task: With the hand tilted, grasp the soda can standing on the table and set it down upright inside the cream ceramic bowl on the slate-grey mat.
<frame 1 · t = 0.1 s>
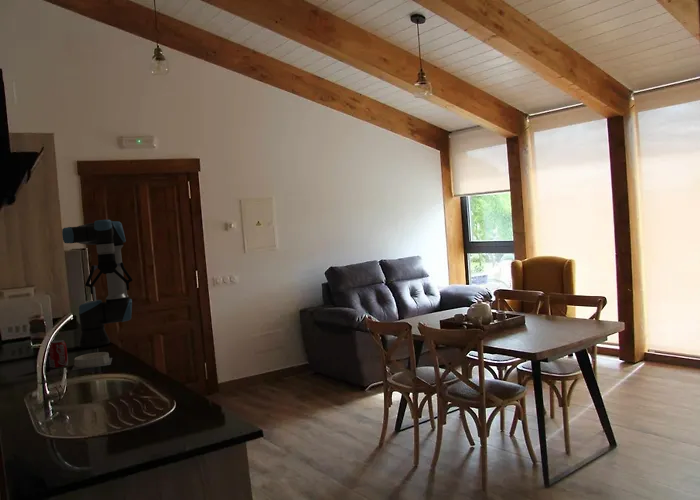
hand: (111, 299, 283), 28 cm above the counter, tool pointing down, fingers open, 13 cm apart
bowl: (92, 363, 277), resting on mat
mat: (92, 364, 277), on the counter
soda can: (60, 367, 277), on the counter
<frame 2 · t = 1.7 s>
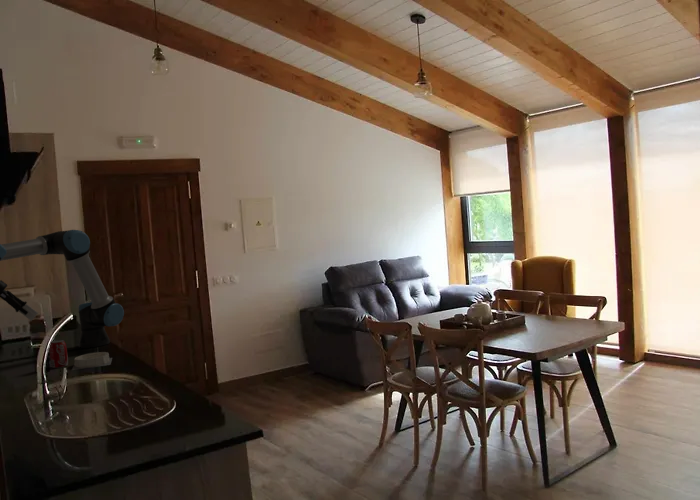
hand: (35, 316, 272), 24 cm above the counter, tool tilted 45°, fingers open, 13 cm apart
nothing on the counter moved.
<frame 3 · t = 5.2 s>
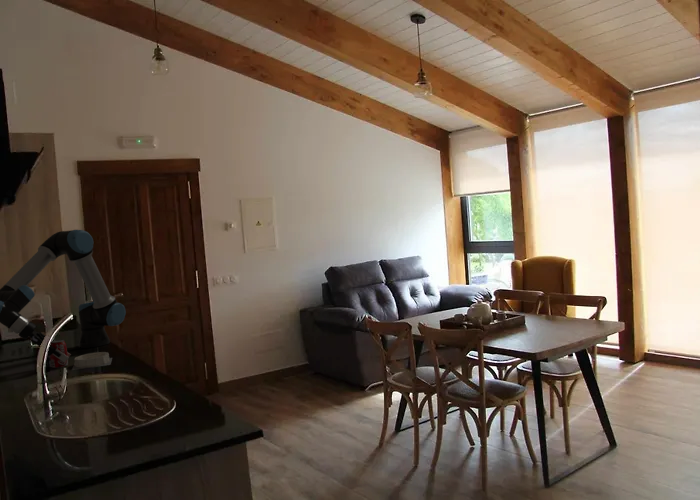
hand: (67, 358, 278), 4 cm above the counter, tool tilted 45°, fingers closed on soda can, 7 cm apart
soda can: (60, 367, 277), on the counter, touching gripper
when the fingers open (6 cm above the counter, at t = 10.0 s): soda can drops 1 cm, resting on bowl.
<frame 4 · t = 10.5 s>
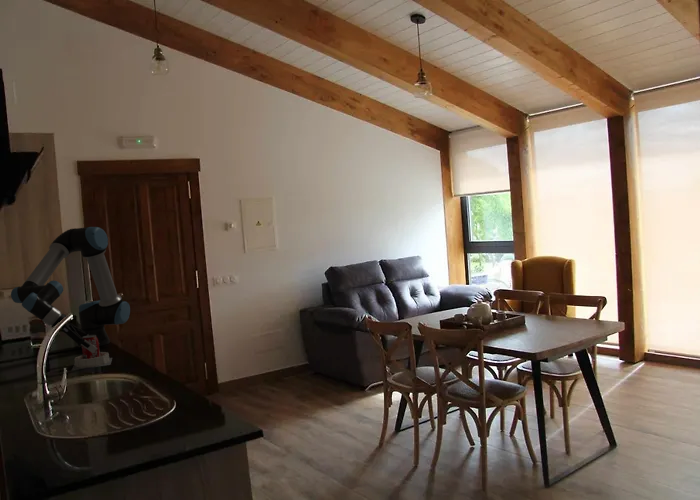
hand: (96, 348, 277), 7 cm above the counter, tool tilted 45°, fingers open, 13 cm apart
soda can: (92, 362, 277), point 1 cm above the counter, touching bowl
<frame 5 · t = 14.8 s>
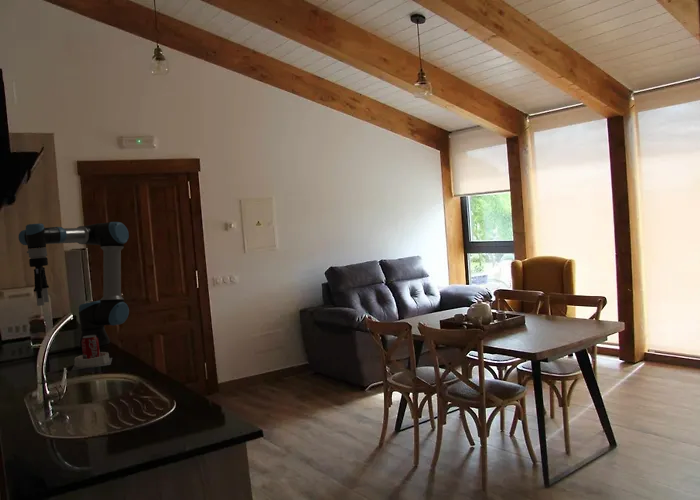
hand: (43, 303, 280), 29 cm above the counter, tool pointing down, fingers open, 13 cm apart
nothing on the counter moved.
at the end: soda can inside the target area on the bowl (0.3 cm from its centre), point 0.4 cm above the bowl's base; soda can tilted 0°; the gripper is holding nothing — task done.
